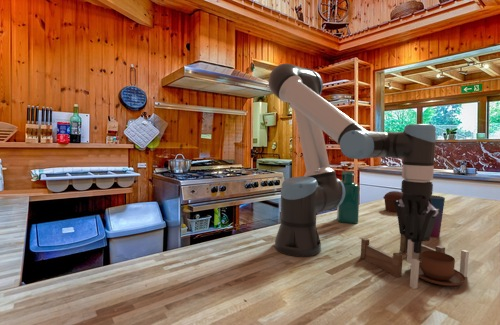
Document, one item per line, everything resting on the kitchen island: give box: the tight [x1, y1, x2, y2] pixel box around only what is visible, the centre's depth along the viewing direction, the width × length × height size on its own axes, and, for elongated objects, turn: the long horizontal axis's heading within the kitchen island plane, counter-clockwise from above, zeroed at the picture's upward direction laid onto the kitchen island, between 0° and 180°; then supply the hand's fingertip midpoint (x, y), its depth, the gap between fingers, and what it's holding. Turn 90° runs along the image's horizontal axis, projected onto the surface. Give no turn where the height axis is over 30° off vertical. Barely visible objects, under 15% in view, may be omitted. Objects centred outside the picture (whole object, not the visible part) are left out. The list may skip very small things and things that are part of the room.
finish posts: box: [409, 249, 470, 290], centre depth 73 cm, size 19×1×7 cm, turn 110°
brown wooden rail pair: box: [360, 234, 446, 278], centre depth 85 cm, size 18×14×6 cm
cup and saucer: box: [418, 251, 466, 287], centre depth 75 cm, size 12×12×6 cm
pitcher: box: [336, 170, 361, 224], centre depth 128 cm, size 10×8×22 cm
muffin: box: [383, 190, 403, 214], centre depth 148 cm, size 12×11×10 cm
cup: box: [424, 194, 446, 238], centre depth 110 cm, size 7×7×15 cm
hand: (412, 262), depth 81 cm, fingers closed
